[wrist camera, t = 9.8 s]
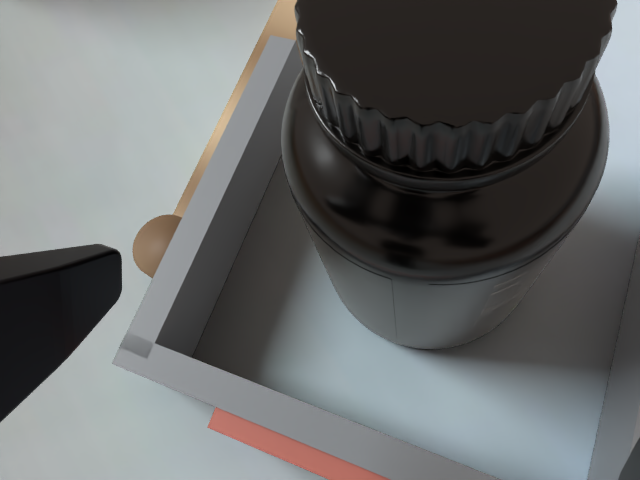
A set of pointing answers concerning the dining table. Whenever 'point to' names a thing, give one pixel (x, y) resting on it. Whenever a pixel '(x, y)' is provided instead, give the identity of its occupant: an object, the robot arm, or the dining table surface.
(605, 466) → the bay
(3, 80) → the dining table surface
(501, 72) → the supplement bottle
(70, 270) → the robot arm
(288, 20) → the rail
